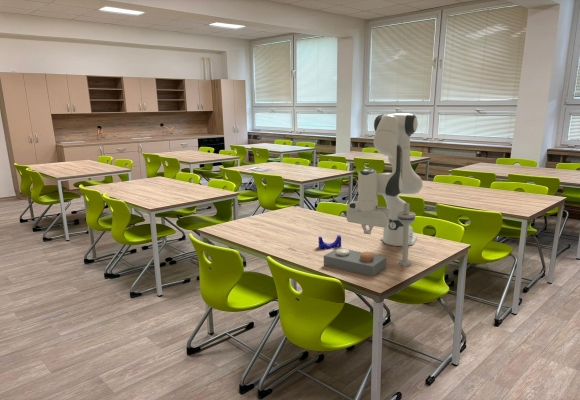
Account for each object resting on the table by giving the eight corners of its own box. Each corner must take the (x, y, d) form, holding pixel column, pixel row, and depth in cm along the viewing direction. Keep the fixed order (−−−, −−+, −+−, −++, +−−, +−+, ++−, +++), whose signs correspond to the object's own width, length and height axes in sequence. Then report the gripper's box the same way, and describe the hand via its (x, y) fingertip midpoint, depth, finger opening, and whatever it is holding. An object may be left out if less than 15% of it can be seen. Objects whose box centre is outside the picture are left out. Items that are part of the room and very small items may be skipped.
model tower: (417, 266, 195) (419, 204, 189) (402, 268, 193) (404, 206, 186) (407, 260, 203) (408, 201, 197) (392, 263, 200) (393, 202, 194)
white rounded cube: (340, 259, 206) (340, 248, 205) (351, 262, 202) (351, 250, 201) (333, 263, 201) (333, 251, 200) (345, 266, 197) (345, 254, 196)
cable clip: (320, 249, 223) (320, 239, 222) (318, 247, 228) (318, 236, 227) (341, 248, 225) (341, 237, 224) (339, 245, 229) (339, 235, 228)
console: (338, 257, 211) (338, 247, 210) (386, 267, 195) (386, 257, 194) (323, 265, 200) (323, 255, 199) (372, 277, 184) (372, 266, 183)
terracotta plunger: (363, 262, 198) (364, 251, 197) (376, 265, 194) (376, 253, 193) (357, 267, 193) (357, 254, 192) (370, 269, 189) (370, 257, 188)
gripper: (391, 205, 183) (391, 235, 187) (351, 200, 196) (351, 228, 199) (385, 209, 179) (385, 239, 182) (344, 203, 191) (344, 232, 194)
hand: (367, 233), depth 190 cm, fingers closed
